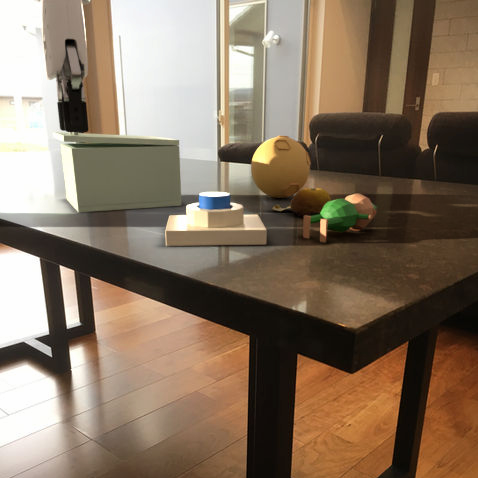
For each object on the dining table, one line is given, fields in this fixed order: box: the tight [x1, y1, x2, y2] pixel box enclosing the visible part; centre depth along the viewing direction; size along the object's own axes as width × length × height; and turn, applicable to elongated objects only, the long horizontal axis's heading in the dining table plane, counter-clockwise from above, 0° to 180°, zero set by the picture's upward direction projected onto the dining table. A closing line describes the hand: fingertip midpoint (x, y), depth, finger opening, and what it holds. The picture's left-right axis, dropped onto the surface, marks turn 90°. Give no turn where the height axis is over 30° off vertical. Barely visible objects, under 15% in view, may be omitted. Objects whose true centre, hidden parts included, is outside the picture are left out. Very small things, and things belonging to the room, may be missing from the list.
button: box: [198, 191, 231, 210], centre depth 59 cm, size 4×4×2 cm
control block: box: [164, 202, 268, 247], centre depth 60 cm, size 11×9×4 cm
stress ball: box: [250, 135, 312, 199], centre depth 87 cm, size 10×10×10 cm
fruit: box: [271, 187, 332, 218], centre depth 74 cm, size 8×8×4 cm
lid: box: [52, 131, 180, 147], centre depth 78 cm, size 16×13×5 cm
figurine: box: [302, 193, 378, 244], centre depth 62 cm, size 4×7×12 cm
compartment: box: [60, 142, 182, 213], centre depth 81 cm, size 16×13×9 cm
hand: (73, 129), depth 76 cm, fingers closed on lid, 5 cm apart
